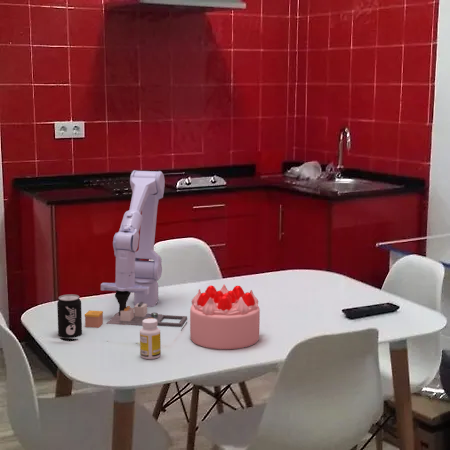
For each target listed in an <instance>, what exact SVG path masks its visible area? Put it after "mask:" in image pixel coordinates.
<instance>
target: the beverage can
mask: <svg viewBox="0 0 450 450" xmlns="http://www.w3.org/2000/svg"><path fill="white" fill-rule="evenodd" d="M56 306H57V307H56V308H57V328H58V329H57V332H58V333H57V335H58V337H59V339H60V340H61V341H64V342H74V341H77V340H79V338H77V337H80V336H82V335H83V327H82V325H83V323H82V321H83V320H82V319H83V318H82V300H81V299H80V296H79V295H78V294H72V293H71V294H63V295H60V296H58V301H57V304H56Z"/></svg>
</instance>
